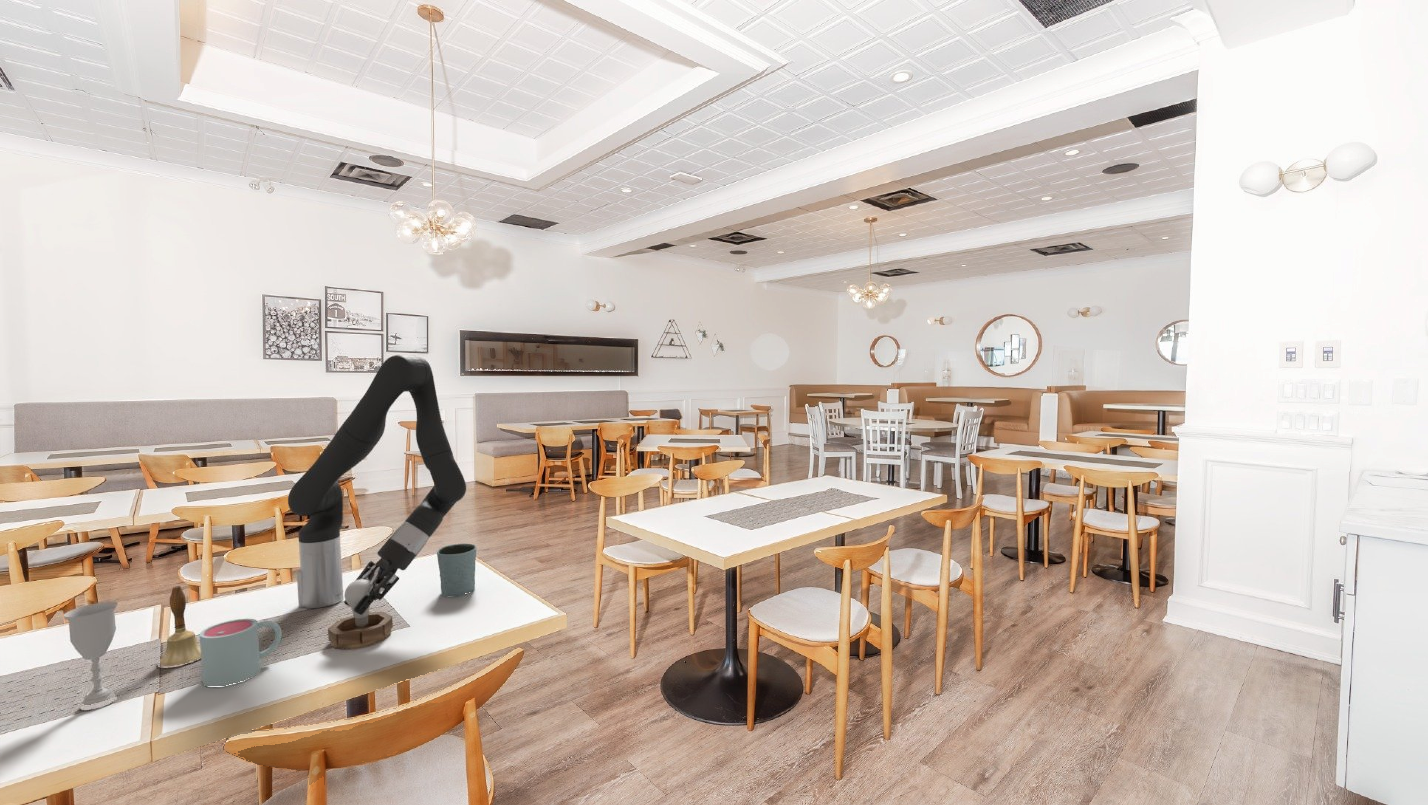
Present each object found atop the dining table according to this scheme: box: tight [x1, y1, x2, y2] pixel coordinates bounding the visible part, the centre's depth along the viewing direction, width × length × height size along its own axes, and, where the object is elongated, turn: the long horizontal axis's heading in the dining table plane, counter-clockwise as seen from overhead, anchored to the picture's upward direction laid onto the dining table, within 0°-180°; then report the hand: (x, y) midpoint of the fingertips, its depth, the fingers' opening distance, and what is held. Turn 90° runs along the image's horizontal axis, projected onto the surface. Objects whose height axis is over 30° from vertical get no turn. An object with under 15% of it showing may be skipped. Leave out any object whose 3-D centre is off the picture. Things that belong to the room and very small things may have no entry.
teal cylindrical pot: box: [436, 543, 477, 597], centre depth 169 cm, size 10×10×12 cm
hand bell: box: [159, 585, 201, 666], centre depth 131 cm, size 8×8×16 cm
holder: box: [327, 611, 394, 651], centre depth 141 cm, size 12×12×4 cm
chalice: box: [63, 601, 119, 705], centre depth 114 cm, size 7×7×18 cm
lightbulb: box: [343, 579, 371, 627], centre depth 141 cm, size 6×6×11 cm
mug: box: [199, 618, 283, 687], centre depth 126 cm, size 14×9×10 cm
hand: (352, 608), depth 139 cm, fingers closed on lightbulb, 6 cm apart
